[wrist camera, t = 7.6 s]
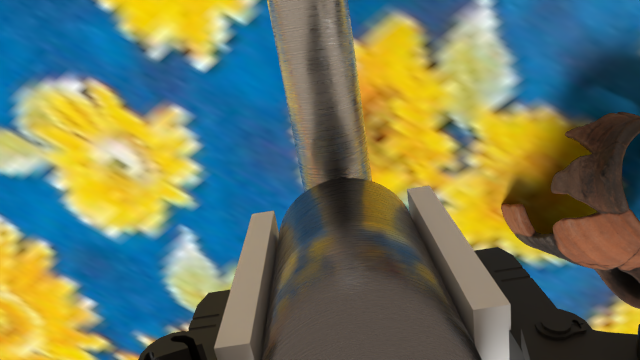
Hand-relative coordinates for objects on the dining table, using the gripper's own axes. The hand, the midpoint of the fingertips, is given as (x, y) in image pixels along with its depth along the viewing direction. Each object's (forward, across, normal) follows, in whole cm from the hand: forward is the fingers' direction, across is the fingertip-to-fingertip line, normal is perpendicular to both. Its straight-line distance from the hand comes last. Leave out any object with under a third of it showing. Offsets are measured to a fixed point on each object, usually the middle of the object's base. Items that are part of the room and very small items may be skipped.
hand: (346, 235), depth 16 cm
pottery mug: (+13, -16, +7) cm, 21 cm away
